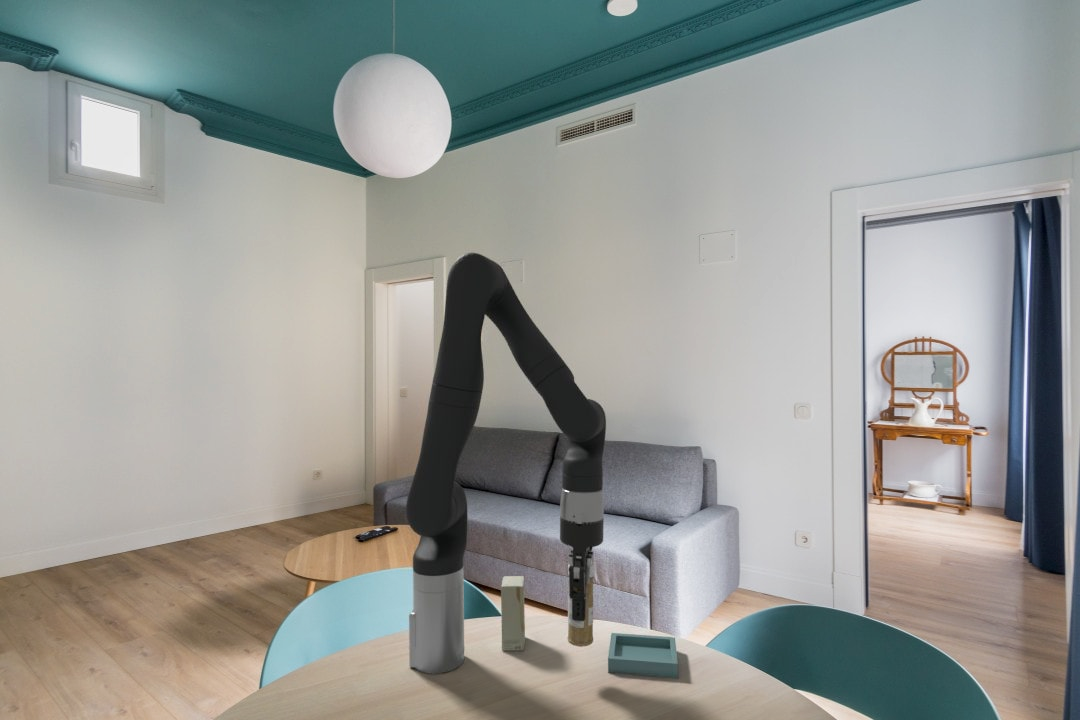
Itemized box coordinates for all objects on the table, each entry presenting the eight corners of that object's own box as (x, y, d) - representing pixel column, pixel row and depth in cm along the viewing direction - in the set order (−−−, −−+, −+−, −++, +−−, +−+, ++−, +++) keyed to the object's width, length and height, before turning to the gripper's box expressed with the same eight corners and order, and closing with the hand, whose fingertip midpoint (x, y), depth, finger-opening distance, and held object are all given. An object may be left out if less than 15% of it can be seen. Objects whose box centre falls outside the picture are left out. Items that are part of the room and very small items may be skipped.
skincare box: (524, 651, 109) (523, 586, 110) (501, 651, 109) (500, 587, 110) (525, 635, 116) (524, 574, 116) (503, 636, 116) (503, 575, 116)
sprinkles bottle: (598, 643, 99) (599, 564, 99) (577, 650, 96) (578, 569, 96) (582, 633, 102) (583, 557, 103) (561, 639, 100) (562, 561, 100)
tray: (608, 672, 101) (608, 658, 101) (611, 645, 111) (611, 632, 111) (678, 678, 99) (677, 663, 99) (675, 650, 109) (675, 637, 109)
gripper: (566, 503, 107) (564, 595, 107) (553, 524, 93) (552, 630, 93) (606, 506, 106) (605, 599, 106) (600, 527, 92) (598, 634, 92)
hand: (580, 613), depth 99 cm, fingers closed on sprinkles bottle, 4 cm apart
